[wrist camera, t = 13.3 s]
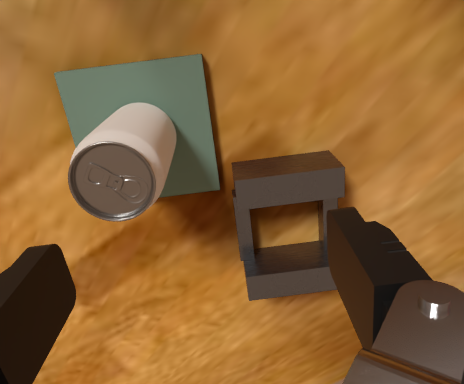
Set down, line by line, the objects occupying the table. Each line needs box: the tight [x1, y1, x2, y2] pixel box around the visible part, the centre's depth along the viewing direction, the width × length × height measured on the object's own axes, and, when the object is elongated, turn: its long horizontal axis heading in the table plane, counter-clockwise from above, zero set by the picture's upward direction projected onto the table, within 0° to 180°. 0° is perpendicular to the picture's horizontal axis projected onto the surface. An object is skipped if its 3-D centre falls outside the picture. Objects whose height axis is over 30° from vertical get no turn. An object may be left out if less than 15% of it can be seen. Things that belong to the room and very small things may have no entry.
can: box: [68, 102, 176, 221], centre depth 30 cm, size 6×6×12 cm
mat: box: [54, 54, 220, 198], centre depth 36 cm, size 13×13×1 cm
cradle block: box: [232, 150, 345, 301], centre depth 39 cm, size 11×14×5 cm
